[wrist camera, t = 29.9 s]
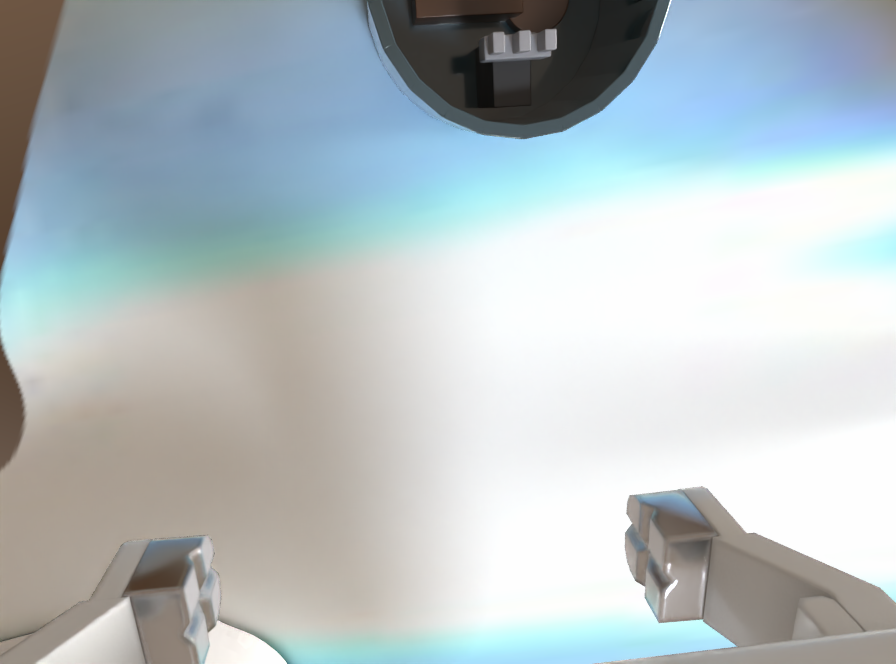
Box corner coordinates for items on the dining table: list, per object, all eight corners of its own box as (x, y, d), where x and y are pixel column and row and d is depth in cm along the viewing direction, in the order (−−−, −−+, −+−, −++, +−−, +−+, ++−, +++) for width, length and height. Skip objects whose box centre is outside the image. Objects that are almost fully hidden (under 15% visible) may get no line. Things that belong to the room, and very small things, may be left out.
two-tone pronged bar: (519, 45, 35) (520, 105, 36) (463, 48, 34) (466, 108, 35) (560, 28, 27) (560, 104, 28) (489, 32, 27) (491, 108, 28)
